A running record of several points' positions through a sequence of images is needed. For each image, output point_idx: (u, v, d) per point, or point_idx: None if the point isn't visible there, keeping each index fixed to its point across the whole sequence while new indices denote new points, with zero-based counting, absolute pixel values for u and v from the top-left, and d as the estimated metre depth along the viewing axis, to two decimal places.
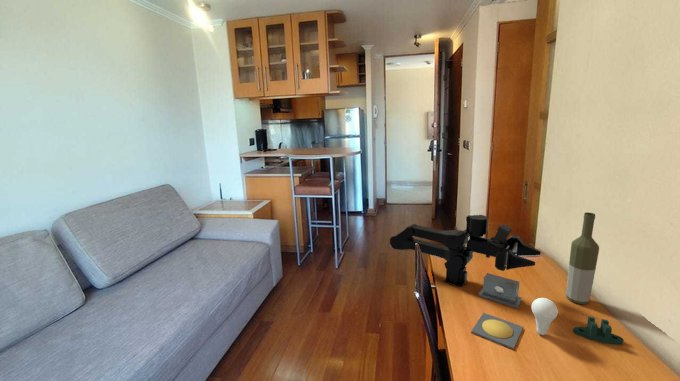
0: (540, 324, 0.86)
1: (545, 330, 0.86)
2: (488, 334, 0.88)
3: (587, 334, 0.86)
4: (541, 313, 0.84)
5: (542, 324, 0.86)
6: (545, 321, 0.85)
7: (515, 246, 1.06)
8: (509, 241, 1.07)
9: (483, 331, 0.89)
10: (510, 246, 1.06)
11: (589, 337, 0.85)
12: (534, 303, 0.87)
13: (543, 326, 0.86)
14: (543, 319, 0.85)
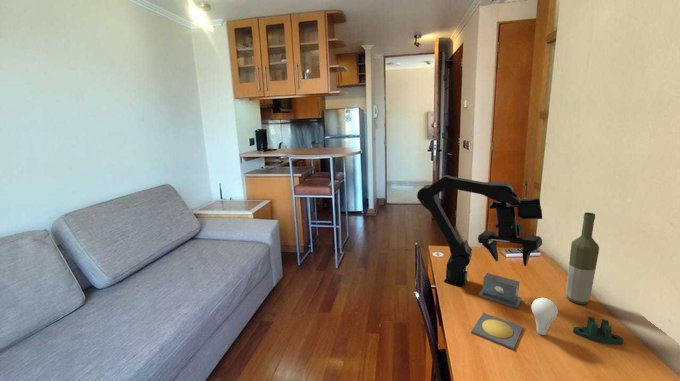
0: (540, 324, 0.86)
1: (545, 330, 0.86)
2: (488, 334, 0.88)
3: (587, 334, 0.86)
4: (541, 313, 0.84)
5: (542, 324, 0.86)
6: (545, 321, 0.85)
7: (492, 240, 1.10)
8: (493, 234, 1.11)
9: (483, 331, 0.89)
10: None
11: (589, 337, 0.85)
12: (534, 303, 0.87)
13: (543, 326, 0.86)
14: (543, 319, 0.85)
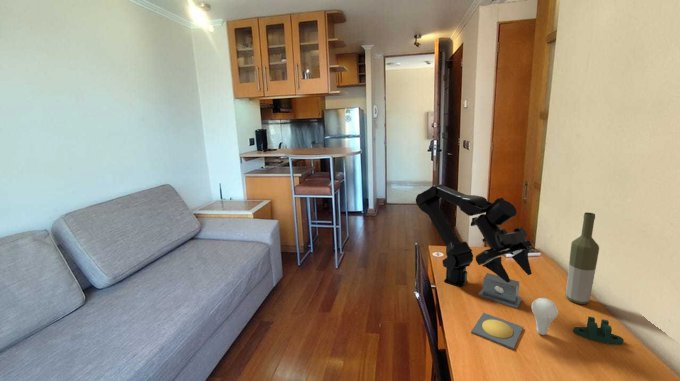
0: (540, 324, 0.86)
1: (545, 330, 0.86)
2: (488, 334, 0.88)
3: (587, 334, 0.86)
4: (541, 313, 0.84)
5: (542, 324, 0.86)
6: (545, 321, 0.85)
7: (518, 251, 0.98)
8: (517, 243, 0.98)
9: (483, 331, 0.89)
10: (512, 248, 0.98)
11: (589, 337, 0.85)
12: (534, 303, 0.87)
13: (543, 326, 0.86)
14: (543, 319, 0.85)
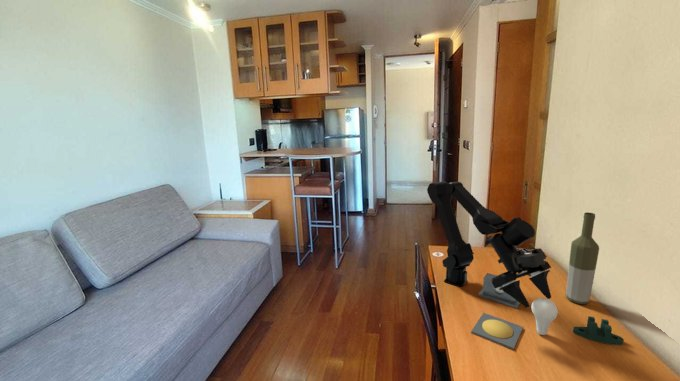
0: (540, 324, 0.86)
1: (545, 330, 0.86)
2: (488, 334, 0.88)
3: (587, 334, 0.86)
4: (541, 313, 0.84)
5: (542, 324, 0.86)
6: (545, 321, 0.85)
7: (536, 272, 0.93)
8: None
9: (483, 331, 0.89)
10: (530, 270, 0.93)
11: (589, 337, 0.85)
12: (534, 303, 0.87)
13: (543, 326, 0.86)
14: (543, 319, 0.85)
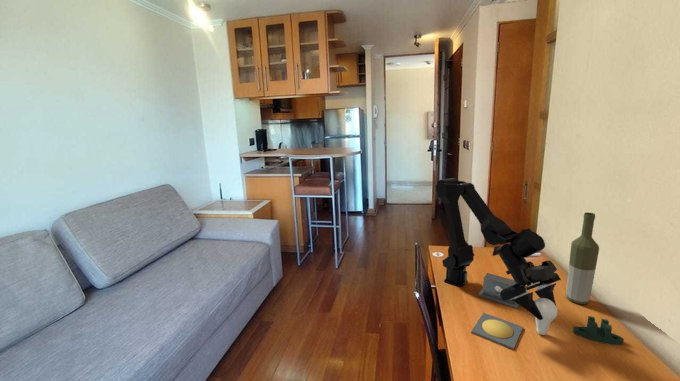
0: (540, 324, 0.86)
1: (545, 330, 0.86)
2: (488, 334, 0.88)
3: (587, 334, 0.86)
4: None
5: (542, 324, 0.86)
6: (545, 321, 0.85)
7: (542, 286, 0.90)
8: None
9: (483, 331, 0.89)
10: (539, 282, 0.91)
11: (589, 337, 0.85)
12: None
13: (543, 326, 0.86)
14: (543, 319, 0.85)
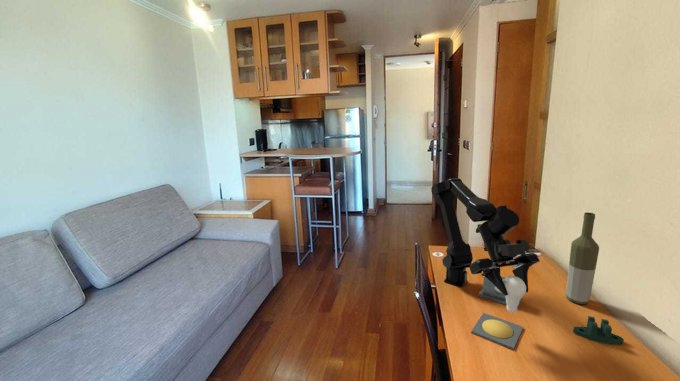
0: (508, 301, 0.87)
1: (513, 308, 0.86)
2: (488, 334, 0.88)
3: (587, 334, 0.86)
4: None
5: (510, 301, 0.86)
6: (511, 298, 0.85)
7: (517, 265, 0.89)
8: (522, 256, 0.90)
9: (483, 331, 0.89)
10: (516, 261, 0.90)
11: (589, 337, 0.85)
12: (503, 280, 0.87)
13: (510, 303, 0.86)
14: (509, 296, 0.85)
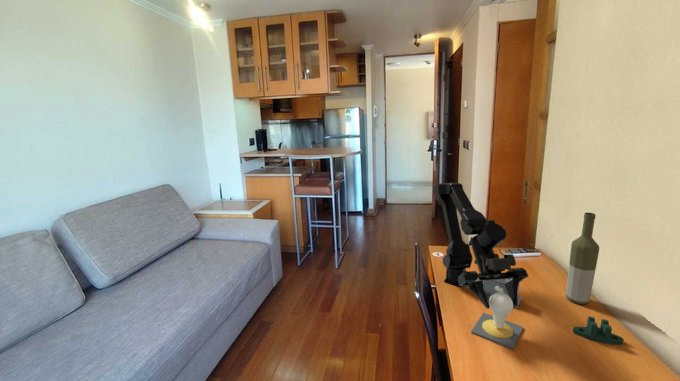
0: (495, 317, 0.89)
1: (500, 324, 0.89)
2: (488, 334, 0.88)
3: (587, 334, 0.86)
4: (493, 305, 0.87)
5: (496, 317, 0.88)
6: (498, 314, 0.87)
7: (509, 279, 0.91)
8: (511, 271, 0.91)
9: (483, 331, 0.89)
10: (504, 275, 0.91)
11: (589, 337, 0.85)
12: (491, 296, 0.89)
13: (497, 319, 0.88)
14: (495, 312, 0.87)
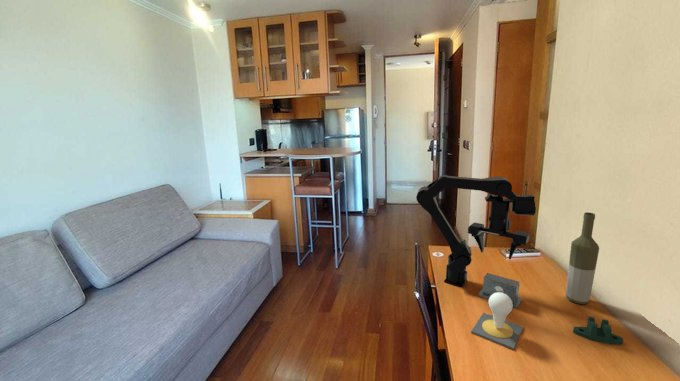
0: (494, 317, 0.89)
1: (499, 324, 0.89)
2: (488, 334, 0.88)
3: (587, 334, 0.86)
4: (492, 305, 0.87)
5: (496, 317, 0.88)
6: (497, 314, 0.87)
7: (481, 232, 1.13)
8: (482, 226, 1.13)
9: (483, 331, 0.89)
10: None
11: (589, 337, 0.85)
12: (490, 296, 0.90)
13: (496, 319, 0.88)
14: (495, 312, 0.87)
